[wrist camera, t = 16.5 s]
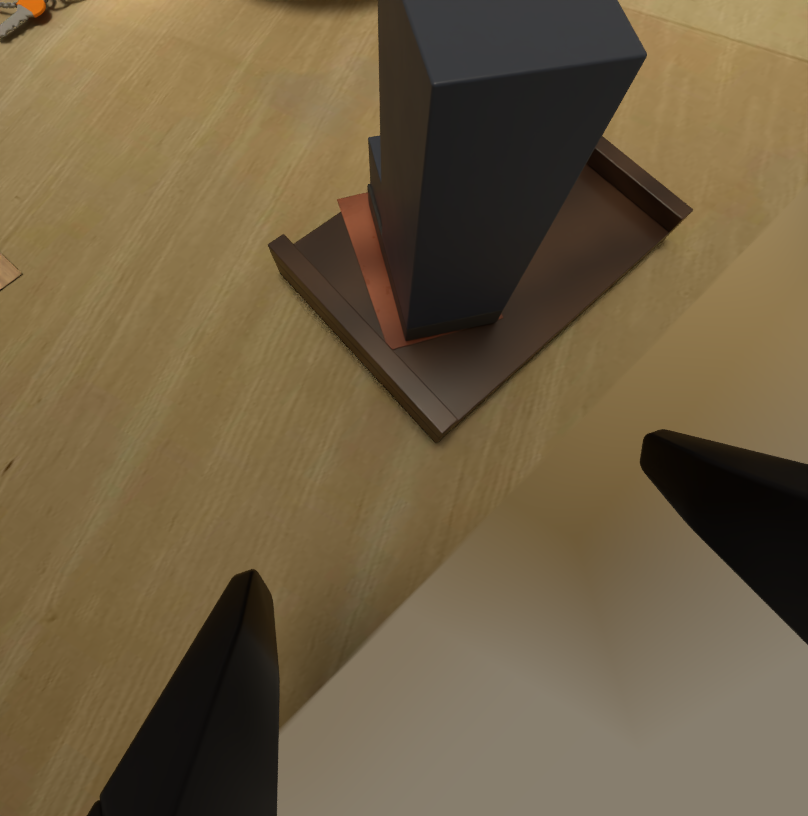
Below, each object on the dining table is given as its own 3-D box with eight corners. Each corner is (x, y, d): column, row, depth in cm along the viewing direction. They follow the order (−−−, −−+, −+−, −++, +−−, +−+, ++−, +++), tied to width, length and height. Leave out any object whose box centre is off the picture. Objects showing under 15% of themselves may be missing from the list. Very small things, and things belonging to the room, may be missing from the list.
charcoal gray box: (496, 322, 23) (649, 54, 10) (405, 341, 23) (432, 84, 9) (451, 188, 26) (522, -175, 12) (368, 202, 25) (346, -162, 12)
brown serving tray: (665, 238, 27) (694, 209, 25) (436, 443, 23) (442, 434, 20) (505, 105, 30) (516, 66, 27) (272, 264, 25) (258, 235, 23)
